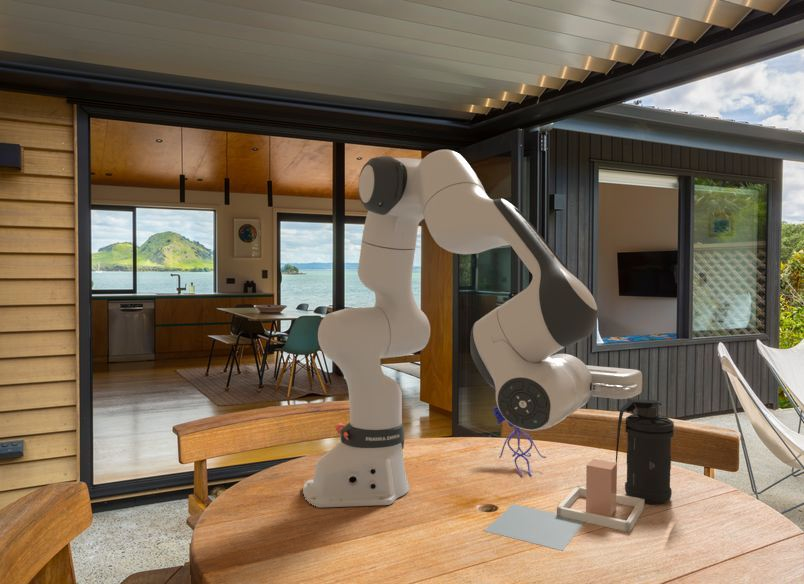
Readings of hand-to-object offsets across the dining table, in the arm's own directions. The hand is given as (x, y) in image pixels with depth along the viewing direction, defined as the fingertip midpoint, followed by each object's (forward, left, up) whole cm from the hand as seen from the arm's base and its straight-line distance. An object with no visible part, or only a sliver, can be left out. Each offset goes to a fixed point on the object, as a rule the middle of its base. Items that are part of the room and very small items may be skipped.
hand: (586, 370), depth 103 cm
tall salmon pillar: (+9, +8, -29) cm, 32 cm away
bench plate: (-6, +6, -30) cm, 31 cm away
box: (+9, +8, -30) cm, 32 cm away
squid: (+10, +44, -30) cm, 54 cm away
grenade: (+24, +15, -30) cm, 41 cm away
